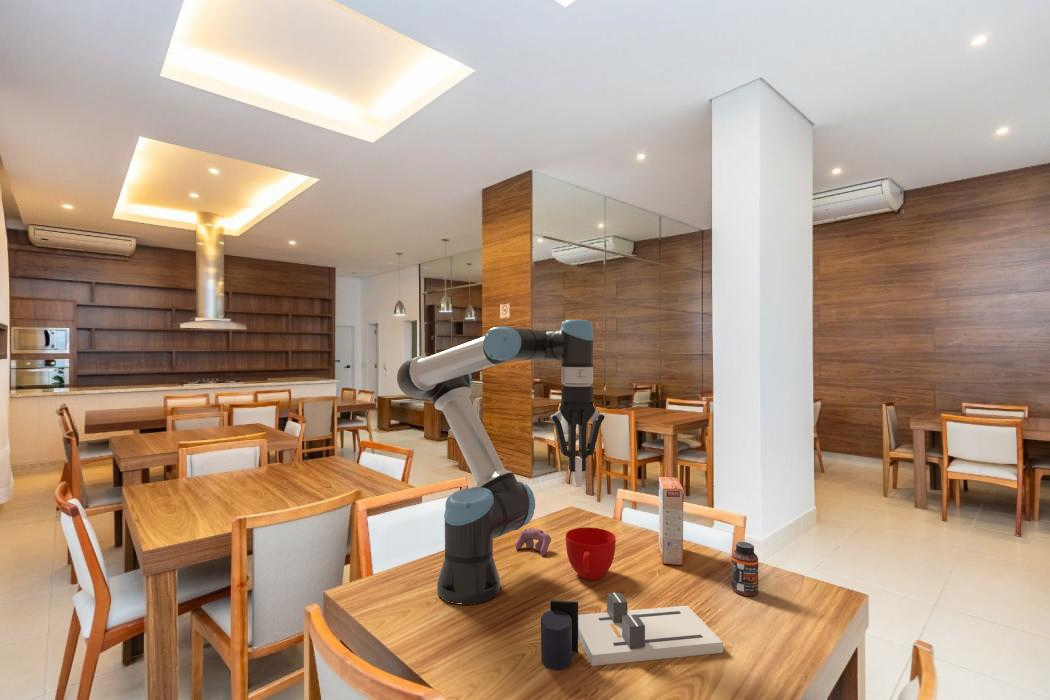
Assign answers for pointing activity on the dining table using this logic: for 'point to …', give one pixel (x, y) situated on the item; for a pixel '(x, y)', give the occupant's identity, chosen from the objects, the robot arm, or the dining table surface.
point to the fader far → (616, 606)
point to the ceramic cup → (590, 551)
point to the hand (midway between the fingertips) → (577, 485)
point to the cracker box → (671, 520)
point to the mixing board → (647, 636)
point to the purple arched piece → (535, 534)
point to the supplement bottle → (744, 570)
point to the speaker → (559, 634)
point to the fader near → (633, 631)
